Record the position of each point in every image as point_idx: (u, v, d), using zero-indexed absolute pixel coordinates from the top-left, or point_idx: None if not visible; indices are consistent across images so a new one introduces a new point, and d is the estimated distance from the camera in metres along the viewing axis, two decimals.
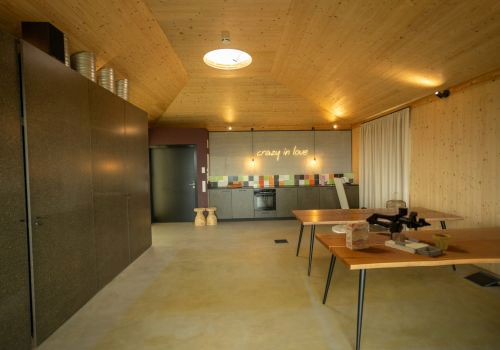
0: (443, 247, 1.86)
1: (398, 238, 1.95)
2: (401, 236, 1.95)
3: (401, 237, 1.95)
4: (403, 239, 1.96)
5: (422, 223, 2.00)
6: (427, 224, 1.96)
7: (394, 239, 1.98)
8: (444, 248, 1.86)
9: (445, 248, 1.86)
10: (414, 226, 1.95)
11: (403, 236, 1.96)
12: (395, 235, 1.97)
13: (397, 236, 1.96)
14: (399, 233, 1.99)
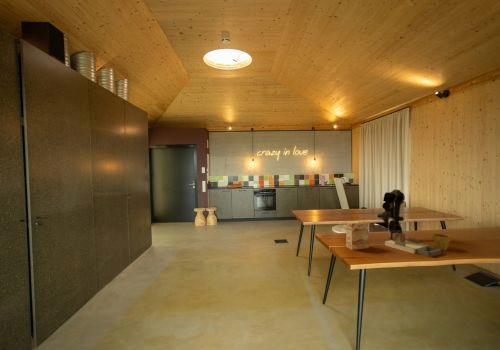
0: (443, 247, 1.86)
1: (398, 238, 1.95)
2: (401, 236, 1.95)
3: (401, 237, 1.95)
4: (403, 239, 1.96)
5: None
6: None
7: (394, 239, 1.98)
8: (444, 248, 1.86)
9: (445, 248, 1.86)
10: None
11: (403, 236, 1.96)
12: (395, 235, 1.97)
13: (397, 236, 1.96)
14: (399, 233, 1.99)
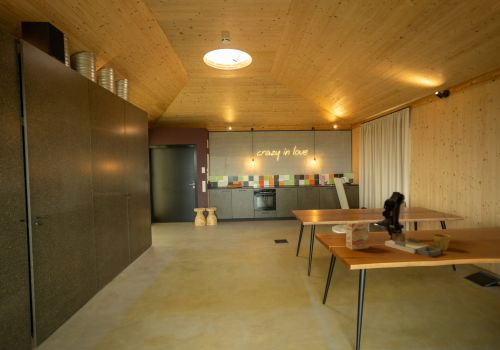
0: (443, 247, 1.86)
1: (398, 238, 1.95)
2: (401, 236, 1.95)
3: (401, 237, 1.95)
4: (403, 239, 1.96)
5: None
6: None
7: (394, 239, 1.98)
8: (444, 248, 1.86)
9: (445, 248, 1.86)
10: None
11: (403, 236, 1.96)
12: (395, 235, 1.97)
13: (397, 236, 1.96)
14: (399, 233, 1.99)
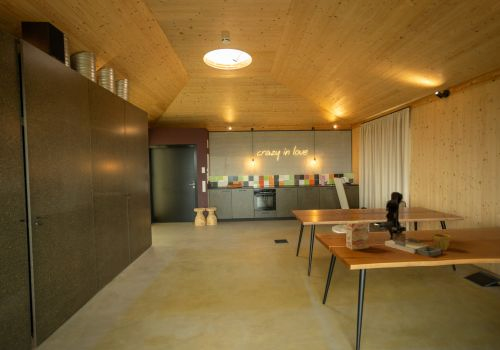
0: (443, 247, 1.86)
1: (398, 238, 1.95)
2: (401, 236, 1.95)
3: (401, 237, 1.95)
4: (403, 239, 1.96)
5: None
6: None
7: (394, 239, 1.98)
8: (444, 248, 1.86)
9: (445, 248, 1.86)
10: None
11: (403, 236, 1.96)
12: (396, 235, 1.97)
13: (397, 236, 1.96)
14: (399, 233, 1.99)
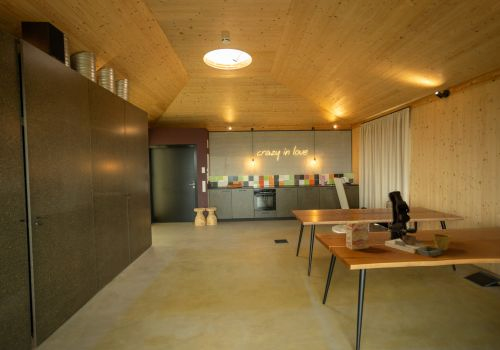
0: (443, 247, 1.86)
1: (408, 241, 1.88)
2: (412, 238, 1.88)
3: (412, 240, 1.88)
4: (414, 242, 1.89)
5: None
6: None
7: (404, 242, 1.91)
8: (444, 248, 1.86)
9: (445, 248, 1.86)
10: None
11: (414, 238, 1.89)
12: (406, 237, 1.90)
13: (407, 238, 1.89)
14: (409, 235, 1.92)
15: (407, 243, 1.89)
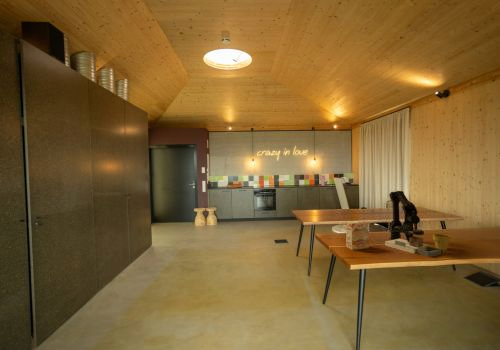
0: (443, 247, 1.86)
1: (416, 242, 1.84)
2: (419, 240, 1.83)
3: (419, 241, 1.83)
4: (421, 243, 1.84)
5: None
6: None
7: (411, 243, 1.86)
8: (444, 248, 1.86)
9: (445, 248, 1.86)
10: None
11: (421, 240, 1.84)
12: (413, 239, 1.85)
13: (415, 240, 1.84)
14: (416, 237, 1.87)
15: (414, 245, 1.85)
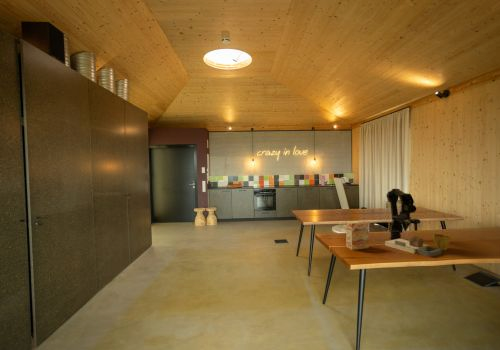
0: (443, 247, 1.86)
1: (416, 242, 1.84)
2: (419, 240, 1.83)
3: (419, 241, 1.83)
4: (421, 243, 1.84)
5: None
6: None
7: (411, 243, 1.86)
8: (444, 248, 1.86)
9: (445, 248, 1.86)
10: None
11: (421, 240, 1.84)
12: (413, 239, 1.85)
13: (415, 240, 1.84)
14: (416, 237, 1.87)
15: (414, 245, 1.85)
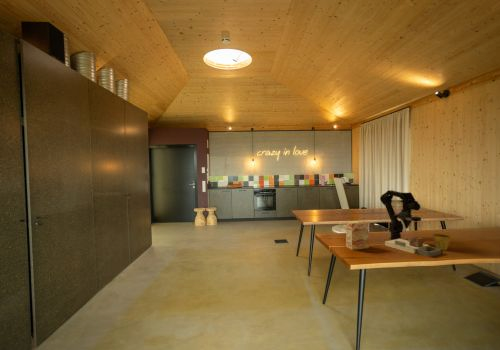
0: (443, 247, 1.86)
1: (416, 242, 1.84)
2: (419, 240, 1.83)
3: (419, 241, 1.83)
4: (421, 243, 1.84)
5: None
6: None
7: (411, 243, 1.86)
8: (444, 248, 1.86)
9: (445, 248, 1.86)
10: None
11: (421, 240, 1.84)
12: (413, 239, 1.85)
13: (415, 240, 1.84)
14: (416, 237, 1.87)
15: (414, 245, 1.85)
